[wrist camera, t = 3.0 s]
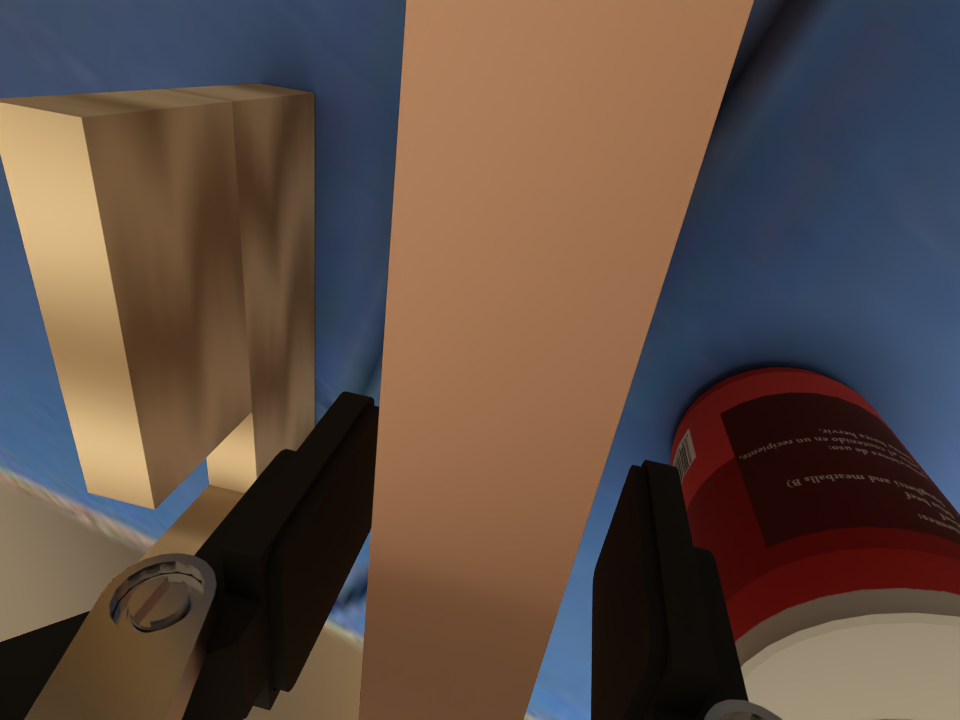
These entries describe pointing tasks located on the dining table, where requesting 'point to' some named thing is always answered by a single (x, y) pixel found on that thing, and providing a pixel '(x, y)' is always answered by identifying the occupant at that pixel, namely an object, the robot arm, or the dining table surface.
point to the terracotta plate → (518, 317)
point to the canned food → (824, 549)
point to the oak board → (173, 282)
